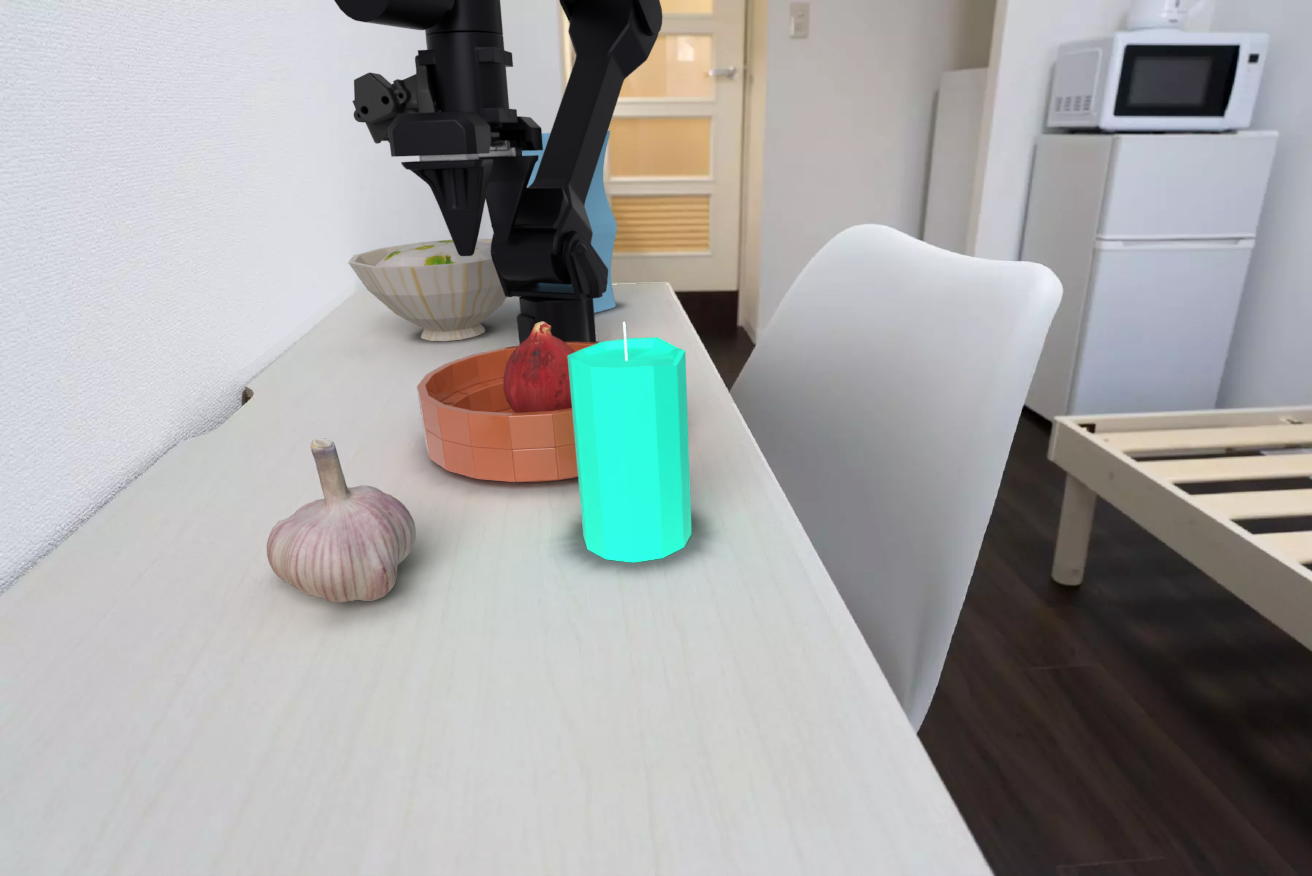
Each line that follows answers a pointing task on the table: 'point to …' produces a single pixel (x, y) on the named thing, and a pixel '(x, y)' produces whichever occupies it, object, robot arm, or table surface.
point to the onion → (538, 373)
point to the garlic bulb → (342, 537)
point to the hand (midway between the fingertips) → (485, 248)
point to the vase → (594, 219)
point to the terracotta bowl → (493, 424)
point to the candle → (632, 447)
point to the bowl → (434, 286)
